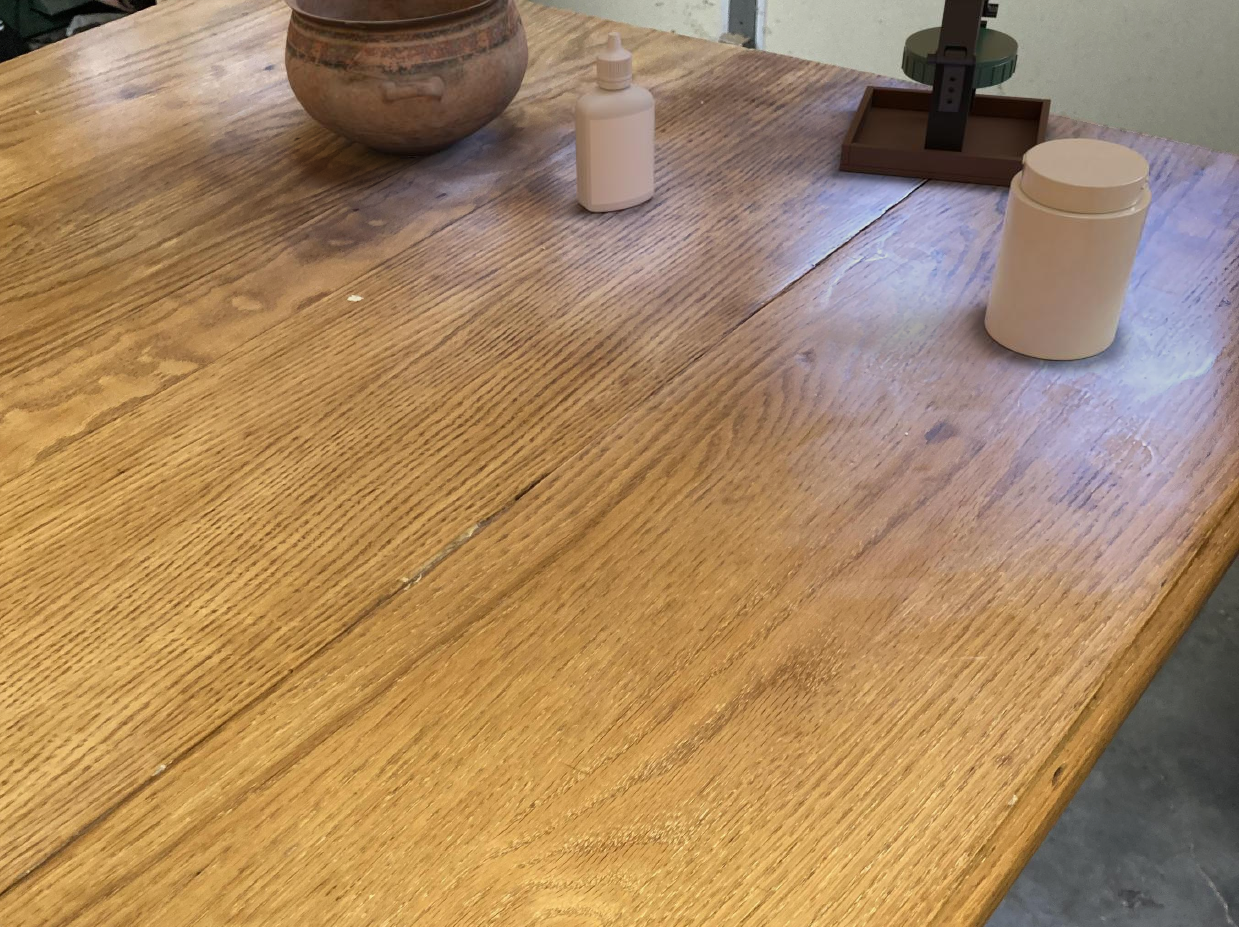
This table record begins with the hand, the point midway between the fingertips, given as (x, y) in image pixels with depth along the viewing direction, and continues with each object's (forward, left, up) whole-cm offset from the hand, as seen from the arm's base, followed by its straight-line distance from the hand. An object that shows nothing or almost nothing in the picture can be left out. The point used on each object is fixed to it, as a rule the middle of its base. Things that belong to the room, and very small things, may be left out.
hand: (949, 127), depth 101 cm
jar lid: (0, 0, +6) cm, 6 cm away
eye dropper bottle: (+22, +15, -2) cm, 27 cm away
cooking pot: (+41, +8, -2) cm, 42 cm away
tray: (0, 0, -2) cm, 2 cm away
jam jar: (-9, +26, -2) cm, 28 cm away
